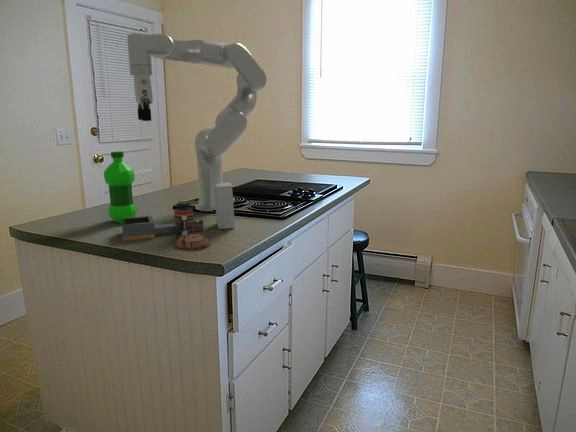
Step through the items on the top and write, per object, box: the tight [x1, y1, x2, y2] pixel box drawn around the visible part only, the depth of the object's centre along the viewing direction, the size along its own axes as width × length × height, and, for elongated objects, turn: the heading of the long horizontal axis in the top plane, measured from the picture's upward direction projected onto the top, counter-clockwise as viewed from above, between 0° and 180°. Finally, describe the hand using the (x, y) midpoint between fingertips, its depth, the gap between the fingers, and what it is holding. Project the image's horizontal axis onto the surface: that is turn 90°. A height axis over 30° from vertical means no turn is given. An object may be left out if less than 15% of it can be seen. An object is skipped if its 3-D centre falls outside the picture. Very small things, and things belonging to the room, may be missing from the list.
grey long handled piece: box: [121, 215, 204, 242], centre depth 152 cm, size 26×10×5 cm, turn 111°
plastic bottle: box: [103, 151, 137, 224], centre depth 165 cm, size 10×10×25 cm
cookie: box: [175, 233, 210, 251], centre depth 140 cm, size 10×11×3 cm
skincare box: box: [214, 182, 236, 230], centre depth 159 cm, size 8×6×15 cm
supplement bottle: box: [174, 201, 195, 239], centre depth 147 cm, size 6×6×11 cm
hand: (144, 120), depth 167 cm, fingers open, 9 cm apart
